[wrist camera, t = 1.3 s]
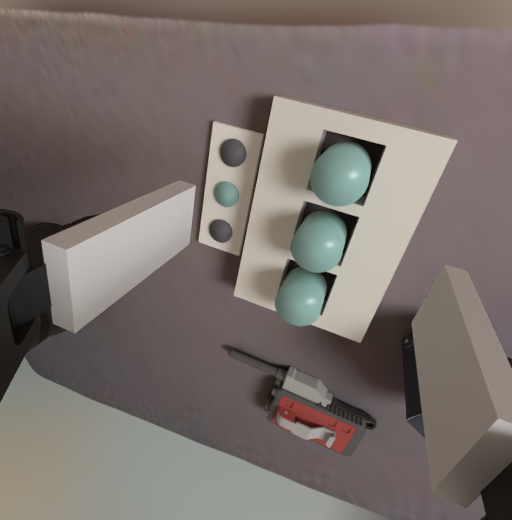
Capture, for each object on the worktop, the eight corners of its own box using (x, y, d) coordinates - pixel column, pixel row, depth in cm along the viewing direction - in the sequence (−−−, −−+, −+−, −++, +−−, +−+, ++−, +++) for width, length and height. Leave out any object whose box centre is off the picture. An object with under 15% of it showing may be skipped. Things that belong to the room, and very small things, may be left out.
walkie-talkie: (384, 403, 41) (234, 338, 44) (384, 434, 37) (220, 361, 40) (357, 444, 45) (222, 382, 49) (355, 476, 41) (209, 407, 45)
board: (243, 282, 39) (233, 295, 37) (283, 95, 29) (274, 95, 27) (362, 325, 36) (360, 343, 34) (450, 135, 26) (457, 140, 24)
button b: (295, 244, 32) (285, 263, 29) (307, 204, 30) (297, 218, 27) (338, 259, 31) (332, 279, 28) (353, 218, 29) (349, 234, 26)
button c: (313, 184, 29) (303, 197, 26) (327, 135, 27) (319, 141, 24) (360, 199, 28) (357, 213, 25) (379, 148, 26) (378, 156, 23)
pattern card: (200, 239, 39) (197, 242, 38) (215, 120, 32) (211, 121, 31) (240, 253, 38) (237, 257, 37) (264, 134, 31) (261, 135, 30)
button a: (281, 294, 35) (270, 316, 32) (291, 260, 33) (280, 280, 30) (320, 308, 34) (312, 332, 31) (332, 275, 32) (326, 296, 29)
